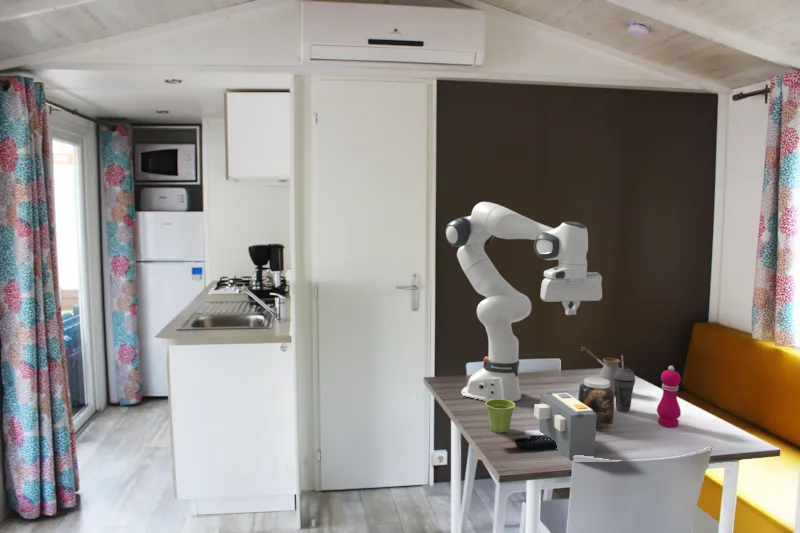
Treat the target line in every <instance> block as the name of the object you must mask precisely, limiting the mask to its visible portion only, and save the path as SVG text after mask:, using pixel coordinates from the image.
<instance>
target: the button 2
mask: <svg viewBox="0 0 800 533" xmlns="http://www.w3.org/2000/svg"><path fill="white" fill-rule="evenodd" d="M554 427H555V428H556V429H558V430H559V431H566V417H564V416H563V415H555V419H554Z"/></svg>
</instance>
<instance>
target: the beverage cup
mask: <svg viewBox="0 0 800 533" xmlns="http://www.w3.org/2000/svg"><path fill="white" fill-rule="evenodd" d="M620 357H621V367H619V369H618V370H617V371H616V372H615V375H614V383H615V397H614V399H615V410H616V411H617V412H619V413H625V414H627V413H630V410H631V405H632V399H633V391H634V386H635V382H636V375H635V373H634V371H633V370H632V369H630V368H629V367H625V365H624V363H625V362H624V355H623V354H621V356H620Z"/></svg>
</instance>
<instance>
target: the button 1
mask: <svg viewBox="0 0 800 533" xmlns="http://www.w3.org/2000/svg"><path fill="white" fill-rule="evenodd" d="M550 412H551V406H549V405H548V404H540V403H537V404H536V403H535V404H534V406H533V416H534V417H535V418H536V419H537V420H539V421H540V419H550Z"/></svg>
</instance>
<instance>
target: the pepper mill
mask: <svg viewBox="0 0 800 533" xmlns="http://www.w3.org/2000/svg"><path fill="white" fill-rule="evenodd" d="M660 379H661V382H662V384H661V388H662V396H661V399H660V401H659V403H658V405H657V407H656V412H657V415H658V417H657V424H658V425H659V426H662V427H664V428H670V429H673V428H675V429H676V428H678V426H679V418H680V416H681V414H682V412H681V411H682V410H681V406H680V405H679V404H680V403H679V402H678V396H677V394H678V391H679V388H680V386H679V384H680V382H681V380H682V379H681V375H680V373H679V372H678V371H676V370H675V367H674V366H673V365H669V366H668V369H666V370H664V371H663V372H662V373H661V375H660Z"/></svg>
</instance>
